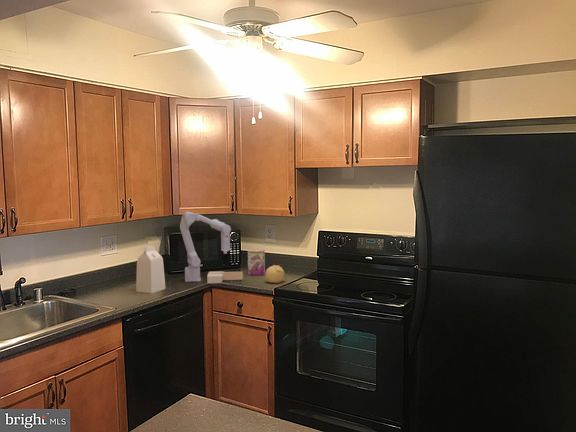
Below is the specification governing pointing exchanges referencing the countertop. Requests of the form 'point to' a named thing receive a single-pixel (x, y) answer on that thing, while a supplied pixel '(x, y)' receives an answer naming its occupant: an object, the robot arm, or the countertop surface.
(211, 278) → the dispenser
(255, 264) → the candy bar box
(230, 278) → the thin wooden plank
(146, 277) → the milk
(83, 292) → the countertop surface
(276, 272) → the beige round lump
